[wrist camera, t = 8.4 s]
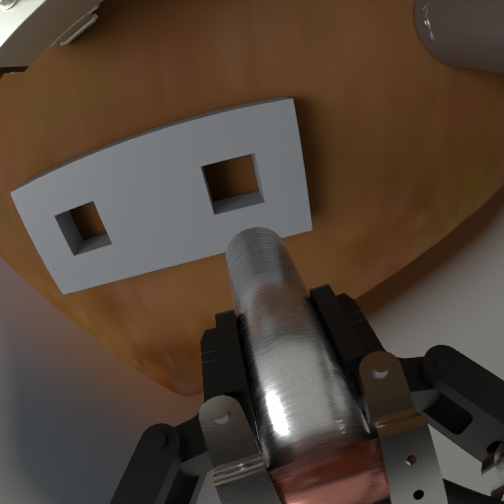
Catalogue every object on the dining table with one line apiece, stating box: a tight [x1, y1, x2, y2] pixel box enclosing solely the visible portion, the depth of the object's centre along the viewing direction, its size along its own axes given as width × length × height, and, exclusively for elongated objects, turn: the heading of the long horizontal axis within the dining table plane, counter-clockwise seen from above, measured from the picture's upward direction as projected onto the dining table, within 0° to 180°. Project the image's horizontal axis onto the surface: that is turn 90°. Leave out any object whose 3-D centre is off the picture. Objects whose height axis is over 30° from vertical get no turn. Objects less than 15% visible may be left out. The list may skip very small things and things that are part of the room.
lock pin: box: [226, 227, 390, 504], centre depth 10 cm, size 4×4×12 cm
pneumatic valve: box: [0, 0, 104, 79], centre depth 12 cm, size 6×12×12 cm, turn 120°
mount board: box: [10, 96, 312, 295], centre depth 26 cm, size 26×12×3 cm, turn 102°
